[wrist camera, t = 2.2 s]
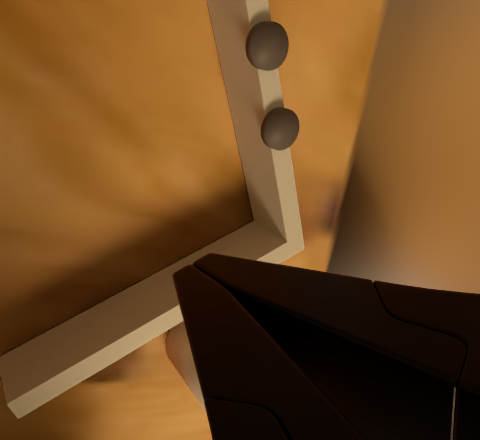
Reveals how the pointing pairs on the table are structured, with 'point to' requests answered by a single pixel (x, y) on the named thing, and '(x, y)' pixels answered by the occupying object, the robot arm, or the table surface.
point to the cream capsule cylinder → (183, 359)
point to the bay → (234, 244)
